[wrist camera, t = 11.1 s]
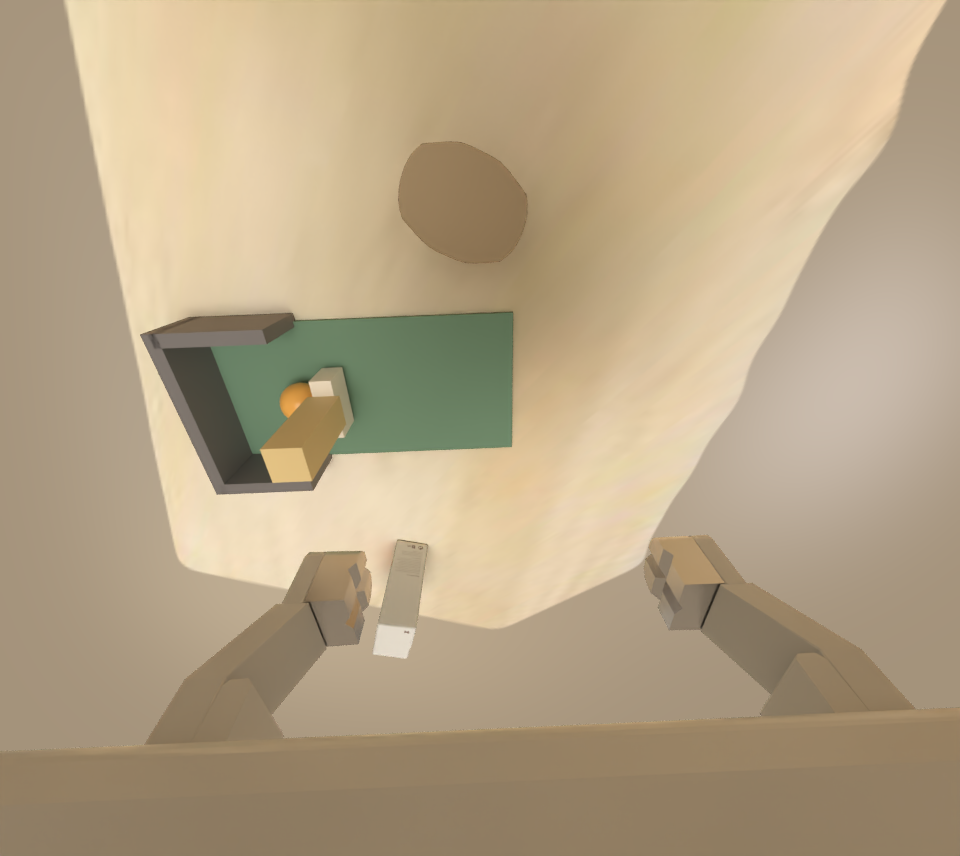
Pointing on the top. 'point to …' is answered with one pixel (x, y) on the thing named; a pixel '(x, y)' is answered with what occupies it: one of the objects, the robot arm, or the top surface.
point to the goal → (217, 396)
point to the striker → (310, 430)
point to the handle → (462, 202)
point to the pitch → (386, 380)
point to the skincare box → (401, 601)
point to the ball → (294, 397)
